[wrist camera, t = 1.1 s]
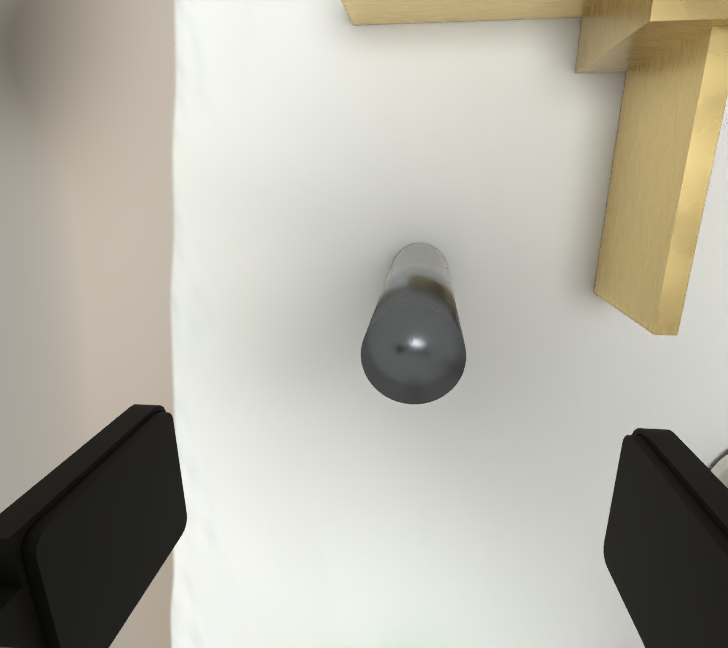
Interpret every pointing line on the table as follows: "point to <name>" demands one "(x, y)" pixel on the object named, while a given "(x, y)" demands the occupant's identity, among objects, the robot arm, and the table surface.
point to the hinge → (632, 128)
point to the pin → (415, 330)
